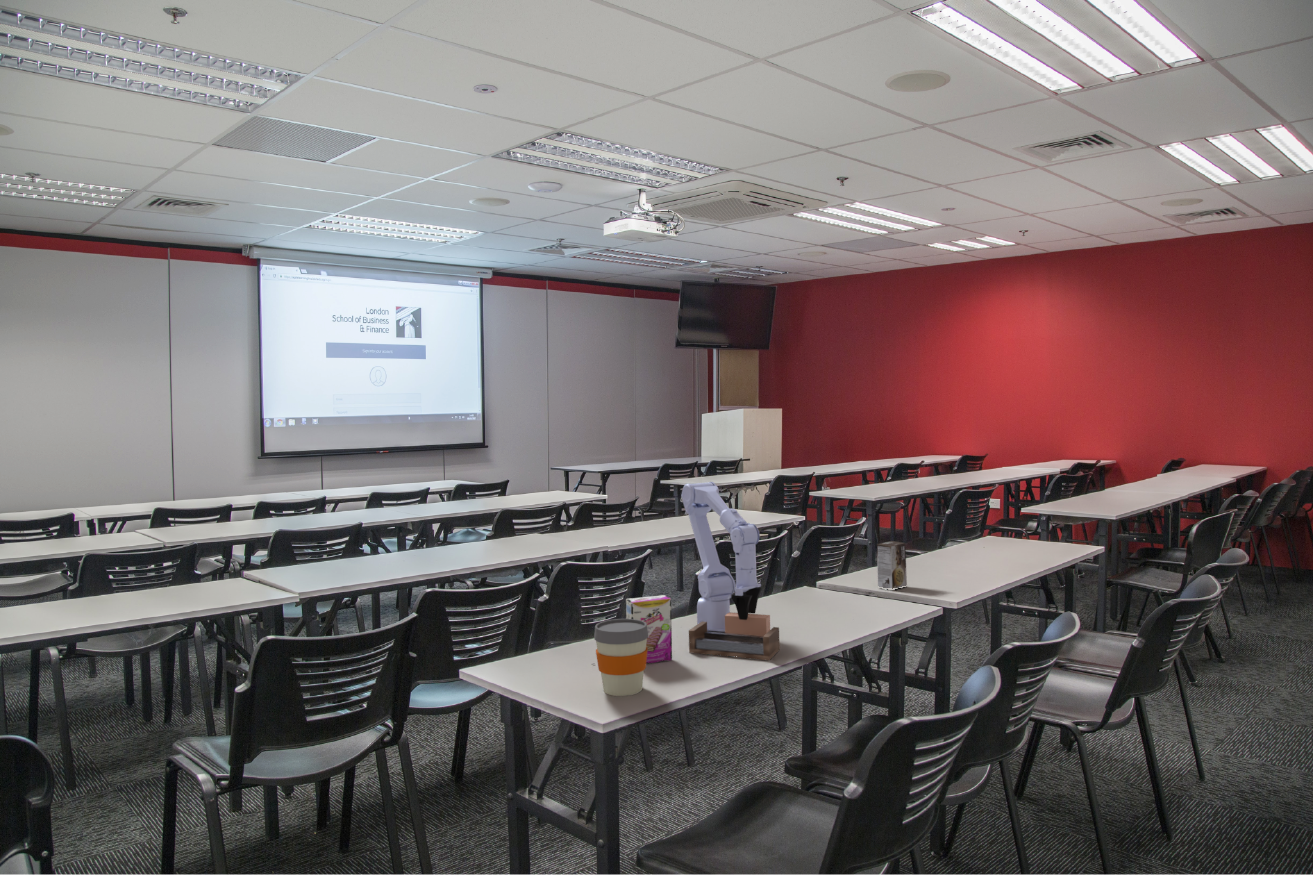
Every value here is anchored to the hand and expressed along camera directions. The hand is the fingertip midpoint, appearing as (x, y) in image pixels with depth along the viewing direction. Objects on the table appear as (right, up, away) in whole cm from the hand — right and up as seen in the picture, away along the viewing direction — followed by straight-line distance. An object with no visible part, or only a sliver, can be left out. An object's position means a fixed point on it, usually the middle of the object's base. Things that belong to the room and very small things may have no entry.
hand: (747, 616), depth 223 cm
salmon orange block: (0, -7, 0) cm, 7 cm away
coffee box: (+59, -4, +62) cm, 85 cm away
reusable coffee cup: (-33, -9, -39) cm, 52 cm away
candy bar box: (-27, -8, -17) cm, 33 cm away
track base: (-5, -7, -11) cm, 14 cm away
